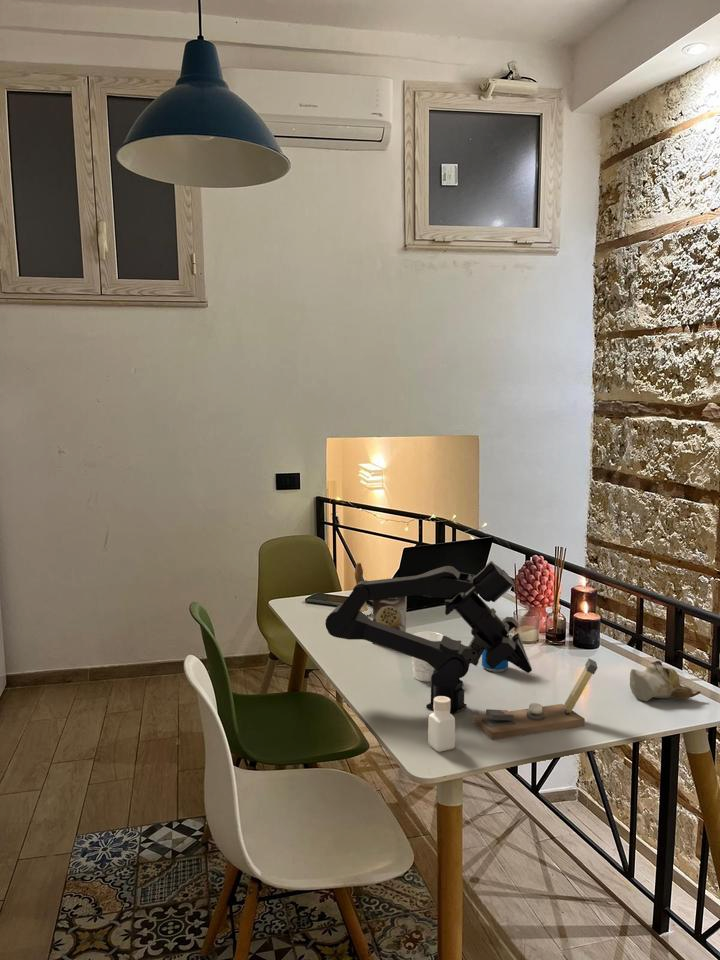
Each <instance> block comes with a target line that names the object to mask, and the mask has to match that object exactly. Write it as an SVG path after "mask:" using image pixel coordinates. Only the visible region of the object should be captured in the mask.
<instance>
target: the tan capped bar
mask: <svg viewBox="0 0 720 960" xmlns="http://www.w3.org/2000/svg"><path fill="white" fill-rule="evenodd" d="M597 670H598V665H597V661H595V660H594V659H591V658H588V659H587V661H586V663H585V666H584V669H583V670H582V672H581V674H580V675H579V678H578V679H577V681H576V683H575V685H574V686H573V688H572V690H571V692H570V693H569V695H568V697H567V699H566V700H565V703H564V704H563V705H564V709H565V714H566V715H569V714H570V713H571V711H573V709H574V708H575V706H576V704H577V702H578V701H579V698H580V697H581V696H582V694H583V692H584V690H585V688H586V686H587V685H588V683H589V681H590V679H591V678H592V676H593V675H595V673H596V672H597Z"/></svg>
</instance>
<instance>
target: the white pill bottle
mask: <svg viewBox="0 0 720 960" xmlns="http://www.w3.org/2000/svg"><path fill="white" fill-rule="evenodd" d="M450 703H451V700H450V698H448V697H445V696H437V697H435V698H434V703H433V708H434V710H433V712H432V713H430V714H429V715H428V725H427V726H428V727H427V729H428V735H427V737H428V738H427V739H428V740H427V742H428V745H429V746H430V747H431V748H432V749H434V750H435V751H436V752H439V753H440V752H445V751H451V750H453V749H455V747H456V746H455V745H456V737H455V736H456V718H455V717H454V716H453V714H452V715H451V714H450V705H451V704H450Z"/></svg>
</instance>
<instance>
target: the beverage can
mask: <svg viewBox="0 0 720 960" xmlns="http://www.w3.org/2000/svg"><path fill="white" fill-rule="evenodd" d="M500 619H501V621H502V620H503V619H504V618H500ZM508 635H510V633H509V634H508ZM486 653H487V651H486V650H485V649H484V651H483V653H482V655H481V666H482V667H483V668H484V669H485V670H486V671H489V672H495V673H497V672H498V673H499V672H504V671H505V670H506V669H508V667H509V661H507V660H503V661H502V662H501V663H500V664H499V665H497V666H496V667H495V668H494V669H492V668H491V667H490V666H489V665H488V664H487V663H486Z"/></svg>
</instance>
